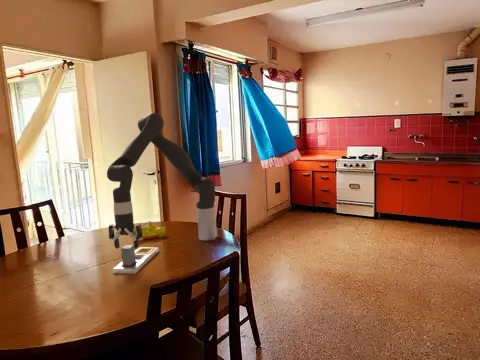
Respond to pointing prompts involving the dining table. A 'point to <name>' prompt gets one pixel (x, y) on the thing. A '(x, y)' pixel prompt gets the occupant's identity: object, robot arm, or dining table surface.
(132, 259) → the peg
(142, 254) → the rail
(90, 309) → the dining table surface
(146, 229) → the toy boat
